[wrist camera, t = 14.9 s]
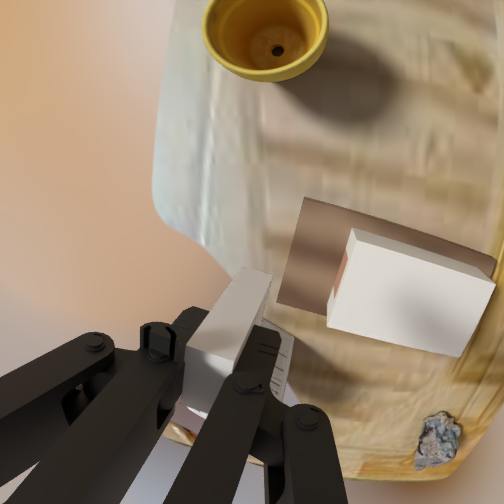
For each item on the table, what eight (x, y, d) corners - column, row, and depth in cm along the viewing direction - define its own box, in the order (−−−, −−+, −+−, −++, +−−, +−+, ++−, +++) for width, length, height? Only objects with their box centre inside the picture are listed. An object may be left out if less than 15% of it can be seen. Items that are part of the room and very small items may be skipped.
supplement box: (266, 373, 41) (245, 442, 30) (219, 345, 42) (184, 408, 30) (297, 336, 39) (284, 407, 27) (246, 305, 39) (213, 367, 27)
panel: (352, 227, 32) (356, 240, 27) (477, 267, 30) (495, 284, 25) (327, 303, 35) (326, 326, 30) (446, 334, 33) (459, 357, 28)
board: (304, 196, 34) (301, 203, 29) (491, 256, 30) (508, 269, 26) (278, 296, 38) (272, 314, 33) (453, 341, 34) (464, 361, 30)
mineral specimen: (442, 406, 43) (392, 427, 43) (464, 400, 36) (409, 426, 36) (453, 454, 38) (403, 477, 38) (477, 454, 31) (422, 483, 31)
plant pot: (320, 104, 30) (319, 84, 21) (224, 90, 32) (189, 70, 23) (333, 19, 27) (334, -23, 18) (240, 10, 28) (213, -30, 19)
